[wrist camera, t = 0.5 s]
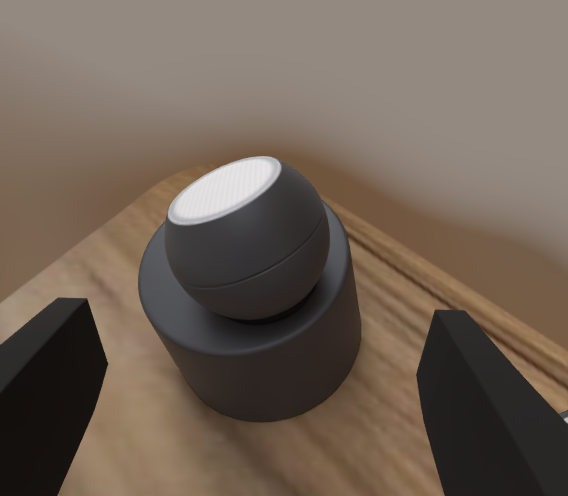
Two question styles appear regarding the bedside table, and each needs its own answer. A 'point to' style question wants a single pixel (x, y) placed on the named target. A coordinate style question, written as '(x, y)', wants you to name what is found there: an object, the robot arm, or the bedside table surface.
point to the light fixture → (254, 291)
